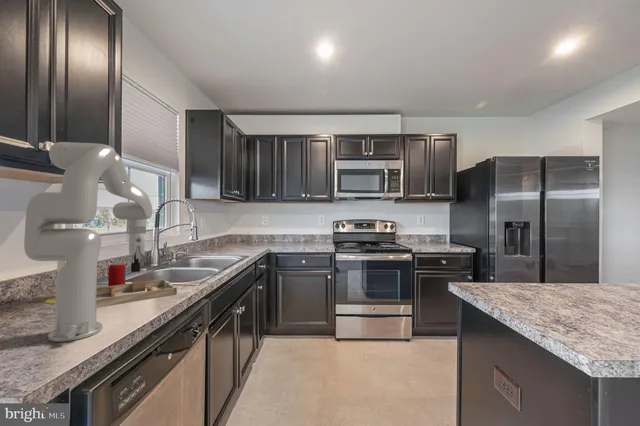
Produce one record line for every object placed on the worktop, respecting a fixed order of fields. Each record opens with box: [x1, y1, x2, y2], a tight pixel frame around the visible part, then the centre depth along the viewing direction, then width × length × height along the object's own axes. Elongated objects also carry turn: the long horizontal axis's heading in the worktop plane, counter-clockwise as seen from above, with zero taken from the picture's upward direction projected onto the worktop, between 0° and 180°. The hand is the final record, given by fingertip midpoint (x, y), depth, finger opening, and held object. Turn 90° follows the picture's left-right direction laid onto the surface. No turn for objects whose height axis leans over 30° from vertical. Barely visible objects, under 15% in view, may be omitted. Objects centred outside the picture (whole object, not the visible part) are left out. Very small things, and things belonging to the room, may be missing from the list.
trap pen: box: [96, 278, 178, 309], centre depth 129 cm, size 22×30×3 cm
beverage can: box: [107, 262, 127, 287], centre depth 140 cm, size 7×7×12 cm
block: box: [131, 280, 146, 294], centre depth 136 cm, size 5×5×4 cm
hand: (135, 271), depth 131 cm, fingers closed
